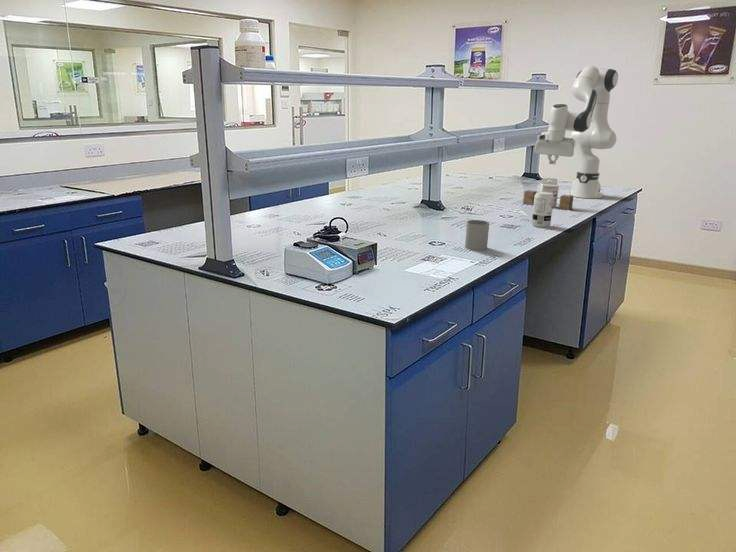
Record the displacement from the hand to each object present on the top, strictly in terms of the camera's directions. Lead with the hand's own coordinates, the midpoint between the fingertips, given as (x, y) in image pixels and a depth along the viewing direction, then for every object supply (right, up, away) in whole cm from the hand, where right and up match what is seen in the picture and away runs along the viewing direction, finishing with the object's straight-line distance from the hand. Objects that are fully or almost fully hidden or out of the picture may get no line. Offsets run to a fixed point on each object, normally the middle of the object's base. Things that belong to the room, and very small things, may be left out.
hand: (552, 164), depth 298 cm
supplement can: (-18, -36, -39) cm, 56 cm away
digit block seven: (-8, -19, +13) cm, 25 cm away
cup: (-55, -48, -79) cm, 107 cm away
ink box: (0, -22, +7) cm, 23 cm away
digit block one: (+7, -24, +1) cm, 25 cm away
